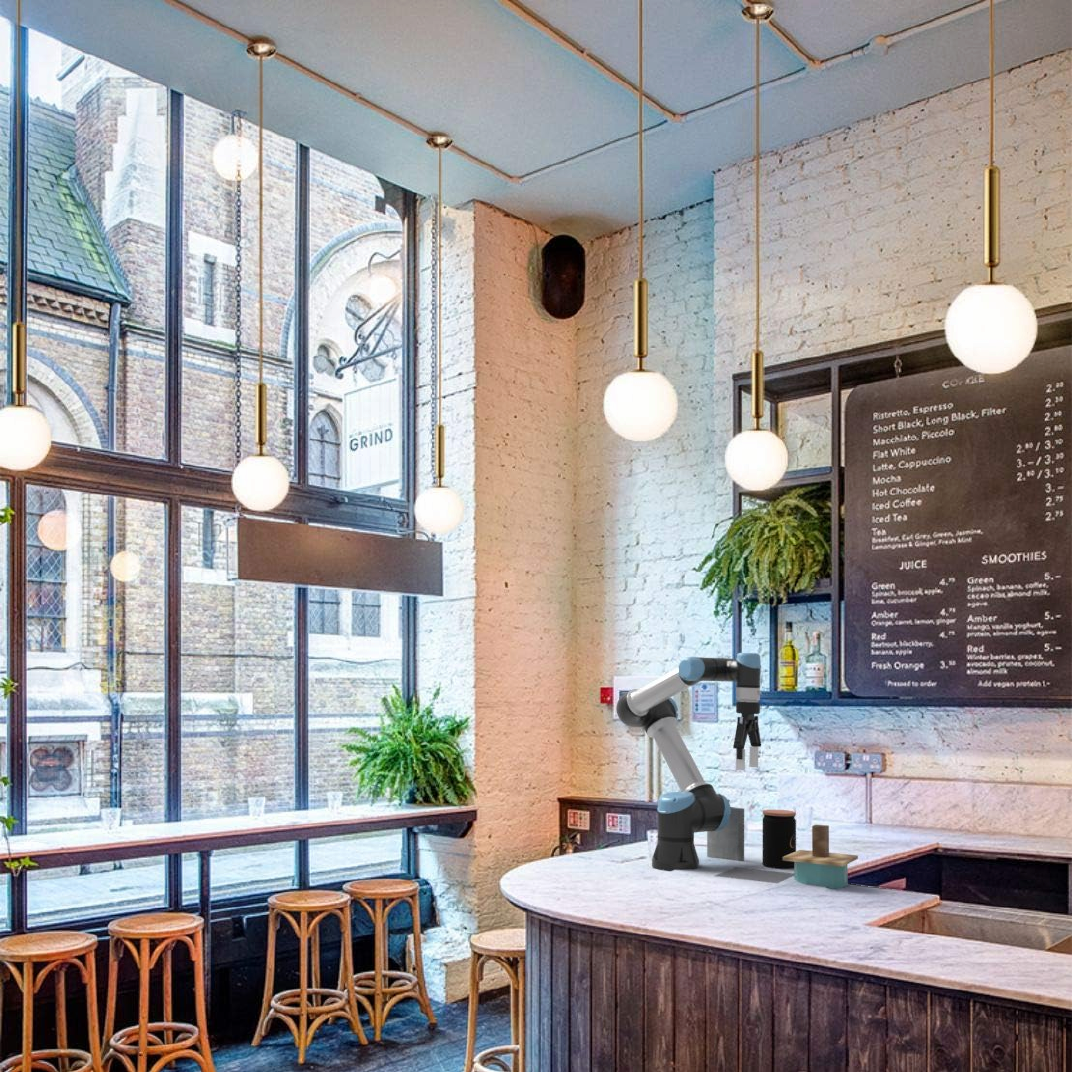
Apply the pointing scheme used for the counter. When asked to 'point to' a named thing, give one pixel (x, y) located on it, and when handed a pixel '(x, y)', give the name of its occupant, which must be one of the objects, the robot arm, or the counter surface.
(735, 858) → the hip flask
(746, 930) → the counter surface
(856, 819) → the counter surface
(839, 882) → the teal bowl
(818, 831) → the oak cover
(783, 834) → the coffee jar
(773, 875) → the rubber mat
